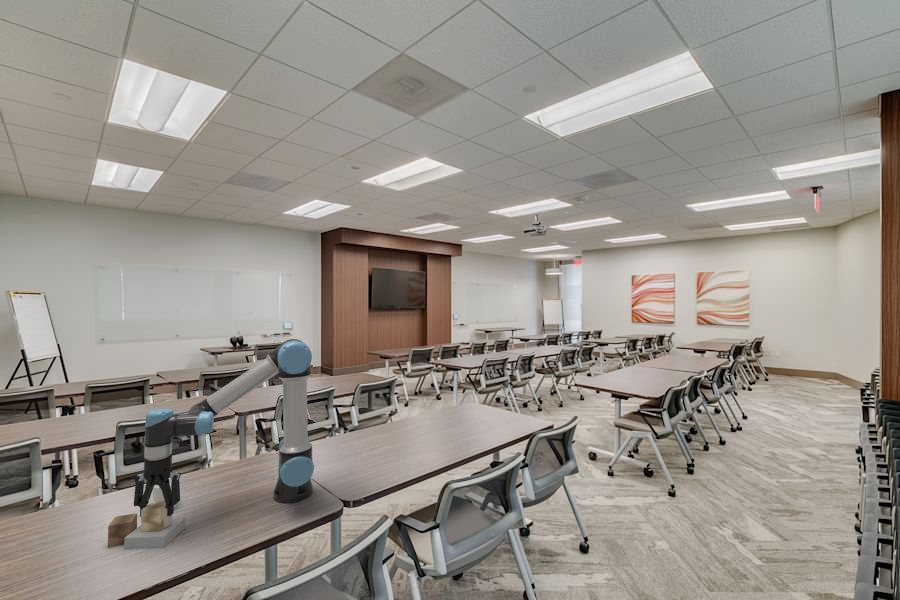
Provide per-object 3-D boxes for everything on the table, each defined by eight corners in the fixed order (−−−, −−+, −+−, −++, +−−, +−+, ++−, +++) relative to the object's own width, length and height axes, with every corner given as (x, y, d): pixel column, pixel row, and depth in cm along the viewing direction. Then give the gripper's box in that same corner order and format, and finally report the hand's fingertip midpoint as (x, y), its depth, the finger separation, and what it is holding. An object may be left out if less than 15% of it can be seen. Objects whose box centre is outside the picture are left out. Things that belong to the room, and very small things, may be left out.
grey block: (186, 527, 138) (186, 516, 138) (163, 548, 126) (163, 536, 126) (150, 529, 137) (150, 517, 137) (124, 550, 125) (124, 537, 125)
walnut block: (136, 533, 134) (137, 513, 134) (131, 543, 128) (131, 521, 128) (114, 537, 131) (115, 516, 131) (107, 548, 126) (108, 526, 126)
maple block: (171, 521, 135) (172, 500, 135) (160, 531, 129) (160, 509, 129) (153, 521, 134) (153, 501, 134) (140, 531, 128) (141, 510, 128)
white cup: (164, 515, 145) (164, 488, 145) (146, 513, 147) (147, 486, 147) (182, 505, 153) (183, 479, 153) (165, 503, 154) (166, 477, 154)
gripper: (194, 451, 136) (192, 518, 136) (136, 452, 135) (134, 520, 134) (181, 460, 129) (179, 531, 128) (119, 461, 127) (118, 533, 127)
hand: (156, 525), depth 131 cm, fingers closed on maple block, 6 cm apart
